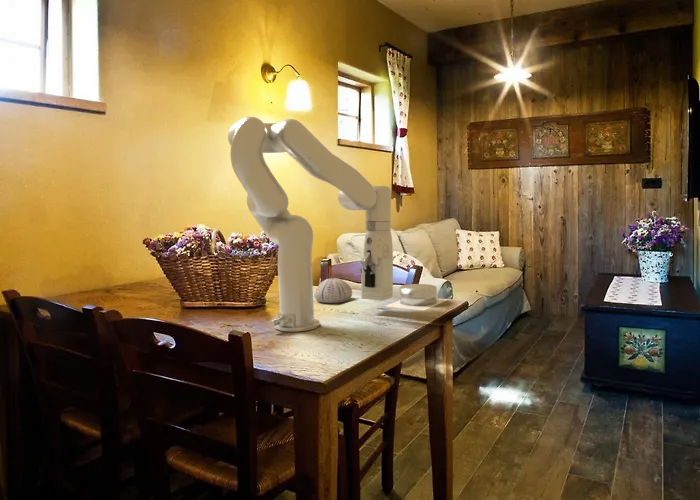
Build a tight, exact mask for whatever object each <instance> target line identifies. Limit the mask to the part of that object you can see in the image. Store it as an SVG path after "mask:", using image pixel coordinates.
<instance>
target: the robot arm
mask: <svg viewBox="0 0 700 500" xmlns="http://www.w3.org/2000/svg"><path fill="white" fill-rule="evenodd" d="M227 140H228V144H229V145H230V162H231V167H232V170H233V172H234V174H235V176H236V177H237V179H238V181H239V182H240V184H241V185H242V188H244V190H245V192H246V193H247V196H246V204H247V205H246V206H247V208H248V210H249V211H250V213H251V215H252V216H253V218H254V219H255V221H256V223H257V224H258V225H259V227H260V228H261V230H262V231H263V232H264V234H265V235H266V236H267V237H268V239H269V240H270V241H271V242H272V243H273V244H274V245H275V246H278V252H277V276H278V277H277V279H278V281H277V282H278V297H279V298H278V299H279V302H278V303H279V312H278V313H277V317H276V318H272V319H270V320H269V321H268V325H269V327H272V328H273V327H274V328H275V329H276V330H277V331H281V332H287V333H292V332H293V333H294V332H297V333H298V332H305V331H310V330H311V331H312V330H314V329H316V328H318V327H320V320H318V319H317V318H315V314H314V313H315V312H314V311H315V310H314V290H313V289H314V287H313V286H314V285H313V266H312V263H313V262H312V258H313V256H312V254H313V253H312V252H313V244H314V243H313V241H314V233H313V232H314V231H313V227H312V225H311V224H310V223H309V221H308V220H307V219H306V218H304V217H302V216H300V215H297V214H296V215H295V214H291V213H290V211H289V210H288V207H289V197H288V195H287V193H286V191H285V190H284V188H283V187H282V186H281V184H280V183H279V181H278V180H277V179H276V177H275V176H274V174H273V173H272V171H271V170H270V167H269V165H268V164H267V162H266V161H265V157H264V154H275V153H276V154H277V153H287V154H288V155H289V156H290V157H291V158H292V159H293V160H295V161H296V163H298V164H299V166H301V167H302V168H303V169H304V170H305V171H306V173H308V174H309V175H310V176H312V177H314V178H316V179H318V180H320V181H323V182H325V183H328V184H329V185H332V186H333V187H334V188H336V189H338V190H339V192H338V196H337V198H338V199H337V201H338V202H339V204H340V206H341V207H342V208H344V209H346V210H349V211H365V235H364V242H363V243H364V244H363V257H364V258H363V257H362V258H363V259H362V261H360V263H361V267H362V266H363V269H364V274H365V287H371V288H374V287H375V274H374V271H375V265H376V266H379V265H380V259H381V258H386V257H393V258H394V255H393V253H394V251H393V238H392V232H391V225H392V223H391V221H392V220H391V219H392V214H391V213H392V189H391V188H390V187H389V186H388V185H372V184H371V183H370V182H369V181H368V179H367V178H366V177H365V176H363V174H361V172H359V171H358V170H357V169H356V168H355V167H353V166H352V165H350V164H349V163H347V162H346V161H344V160H343V159H342V158H340V157H338V156H337V155H335V154H333V152H332V151H330V149H328V148H327V147H326V146H325V145H324V144H323V143H322V142H321V141H320V140H319V139H318V138H317V137H316V136H315V135H314V134H313V133H312V132H311V131H310V130H309V129H308V128H307V127H306V126H305V125H304V124H303V123H302V122H300V121H298V120H297V119H293V118H288V119H284V120H282V121H280V122H266V123H265V122H263V121H262V119H260V118H258V117H255V116H246V117H244V118H241V119H240V120H238V121H237V122H235V123H234V124H232V125H231V127H230V128H229V130H228V133H227ZM370 258H371V259H372V262H373V263H368V260H369V259H370ZM370 266H372V268H370Z"/></svg>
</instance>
